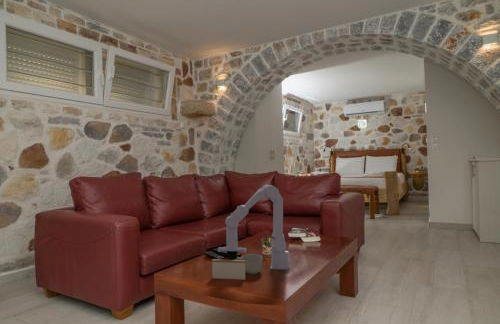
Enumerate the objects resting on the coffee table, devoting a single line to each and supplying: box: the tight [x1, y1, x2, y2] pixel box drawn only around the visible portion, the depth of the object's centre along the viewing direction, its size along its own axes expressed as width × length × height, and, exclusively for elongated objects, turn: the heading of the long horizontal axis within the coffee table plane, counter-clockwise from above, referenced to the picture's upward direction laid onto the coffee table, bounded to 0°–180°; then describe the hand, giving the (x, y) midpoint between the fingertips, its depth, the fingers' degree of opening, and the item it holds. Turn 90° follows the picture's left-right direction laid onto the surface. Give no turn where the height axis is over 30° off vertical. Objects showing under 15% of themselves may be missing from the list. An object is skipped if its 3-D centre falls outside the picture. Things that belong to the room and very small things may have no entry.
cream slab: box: [211, 258, 246, 280], centre depth 160 cm, size 16×2×9 cm, turn 79°
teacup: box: [235, 253, 263, 275], centre depth 169 cm, size 14×11×8 cm
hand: (232, 266), depth 170 cm, fingers closed
